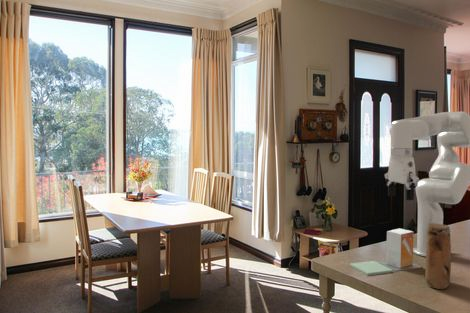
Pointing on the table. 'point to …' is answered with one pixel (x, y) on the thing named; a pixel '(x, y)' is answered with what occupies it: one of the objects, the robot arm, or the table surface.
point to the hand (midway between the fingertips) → (400, 198)
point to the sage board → (371, 268)
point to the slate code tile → (400, 268)
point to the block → (438, 256)
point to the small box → (399, 248)
